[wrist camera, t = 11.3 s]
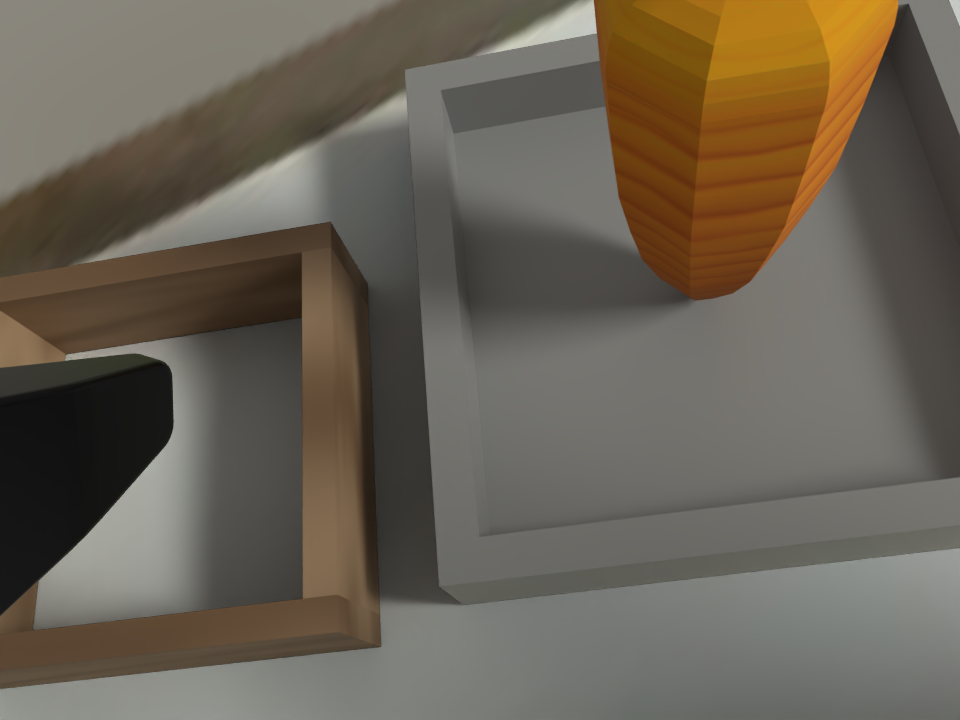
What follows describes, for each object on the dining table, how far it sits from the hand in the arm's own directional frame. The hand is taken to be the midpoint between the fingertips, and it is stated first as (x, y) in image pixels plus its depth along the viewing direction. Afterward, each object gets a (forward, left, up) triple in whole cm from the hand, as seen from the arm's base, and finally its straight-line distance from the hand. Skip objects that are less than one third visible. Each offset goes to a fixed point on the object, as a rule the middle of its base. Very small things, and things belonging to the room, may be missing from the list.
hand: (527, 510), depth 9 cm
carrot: (+9, -4, -13) cm, 16 cm away
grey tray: (+9, -4, -14) cm, 17 cm away
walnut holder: (+6, +11, -14) cm, 18 cm away
